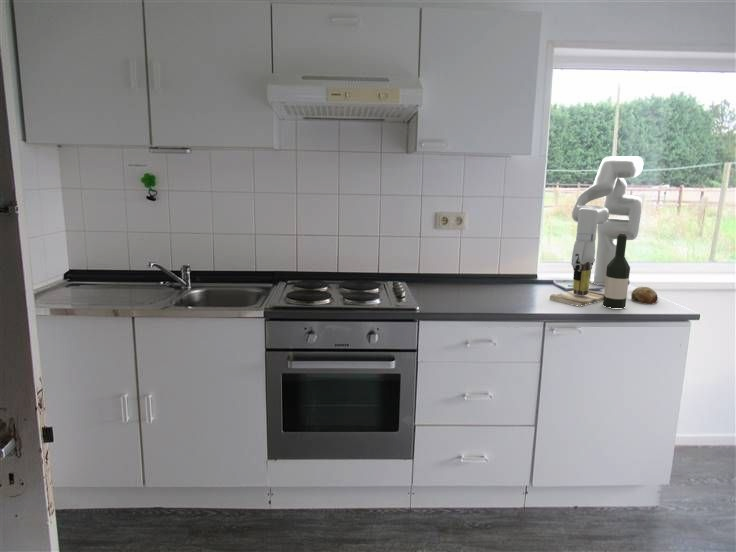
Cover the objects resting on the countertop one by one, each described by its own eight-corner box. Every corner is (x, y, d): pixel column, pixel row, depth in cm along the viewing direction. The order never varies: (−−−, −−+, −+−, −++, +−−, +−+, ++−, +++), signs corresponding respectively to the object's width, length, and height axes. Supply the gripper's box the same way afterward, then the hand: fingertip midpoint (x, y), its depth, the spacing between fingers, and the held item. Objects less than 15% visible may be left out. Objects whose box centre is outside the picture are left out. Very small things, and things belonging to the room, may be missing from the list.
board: (579, 292, 229) (580, 287, 229) (609, 298, 218) (609, 294, 218) (549, 299, 217) (550, 294, 217) (579, 306, 206) (579, 302, 206)
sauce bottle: (589, 293, 218) (594, 247, 214) (586, 296, 213) (591, 249, 209) (574, 291, 222) (578, 246, 217) (570, 294, 217) (575, 248, 212)
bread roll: (627, 307, 220) (623, 291, 217) (643, 295, 222) (640, 279, 219) (647, 313, 211) (644, 297, 208) (664, 300, 213) (661, 284, 210)
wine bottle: (630, 308, 204) (639, 234, 197) (612, 310, 202) (621, 235, 195) (614, 303, 212) (623, 231, 205) (598, 304, 210) (606, 232, 203)
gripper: (589, 234, 220) (585, 275, 224) (565, 237, 210) (561, 280, 214) (605, 236, 214) (601, 278, 218) (582, 240, 204) (577, 283, 208)
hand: (581, 278), depth 216 cm, fingers closed on sauce bottle, 6 cm apart
